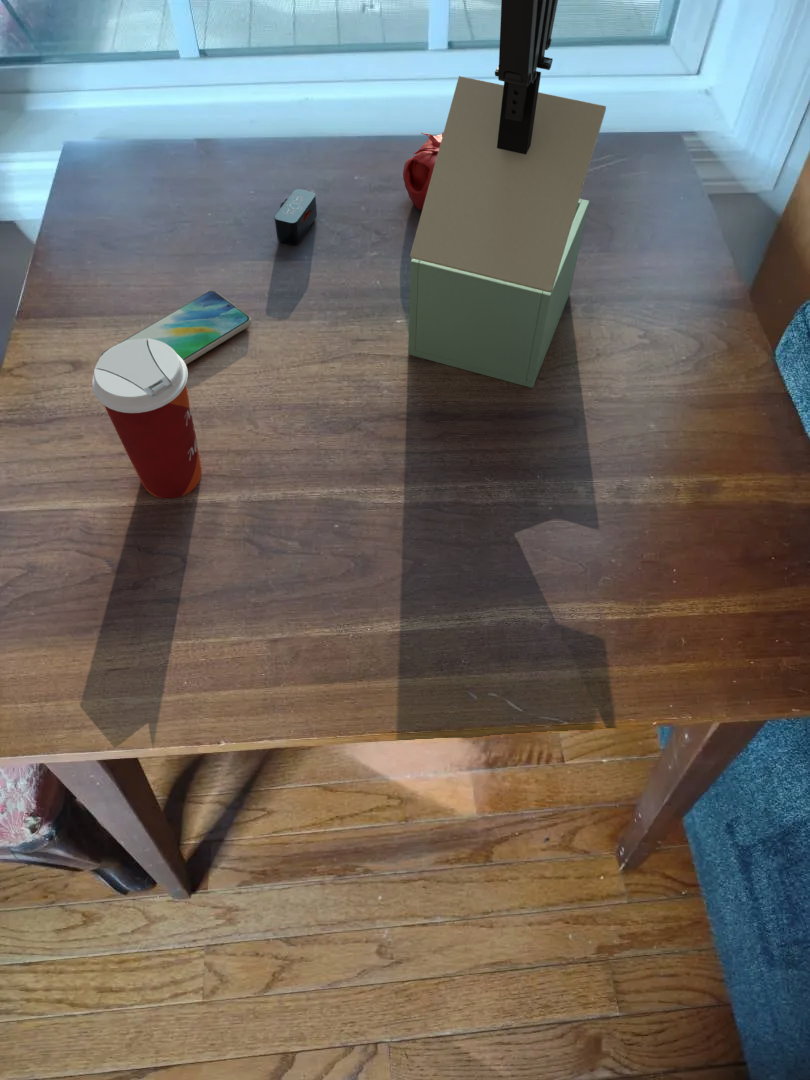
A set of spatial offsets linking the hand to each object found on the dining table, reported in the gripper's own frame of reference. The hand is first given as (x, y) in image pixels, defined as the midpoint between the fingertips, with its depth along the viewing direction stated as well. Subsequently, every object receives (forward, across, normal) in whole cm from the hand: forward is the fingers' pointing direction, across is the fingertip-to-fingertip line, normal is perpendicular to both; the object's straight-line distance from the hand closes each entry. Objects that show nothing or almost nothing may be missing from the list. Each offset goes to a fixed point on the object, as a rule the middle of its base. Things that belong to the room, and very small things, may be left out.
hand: (513, 146), depth 77 cm
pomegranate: (+21, -19, -12) cm, 31 cm away
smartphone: (+21, +15, -30) cm, 39 cm away
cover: (+3, +1, 0) cm, 3 cm away
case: (+20, 0, 0) cm, 20 cm away
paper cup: (+21, +31, -22) cm, 43 cm away
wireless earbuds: (+21, -8, -27) cm, 35 cm away
